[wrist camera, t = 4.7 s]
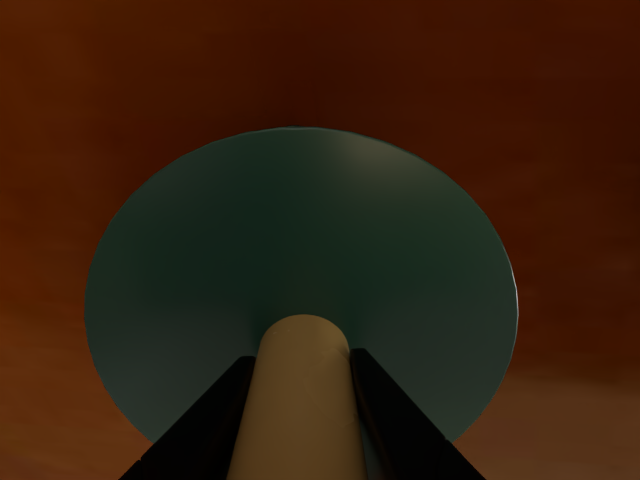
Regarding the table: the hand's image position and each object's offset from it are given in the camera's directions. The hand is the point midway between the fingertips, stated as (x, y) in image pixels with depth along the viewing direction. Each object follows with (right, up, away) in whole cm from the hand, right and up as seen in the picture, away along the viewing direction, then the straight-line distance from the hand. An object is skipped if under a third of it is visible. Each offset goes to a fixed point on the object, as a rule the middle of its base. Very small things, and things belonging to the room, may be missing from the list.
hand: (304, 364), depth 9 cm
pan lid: (0, 0, +1) cm, 1 cm away
